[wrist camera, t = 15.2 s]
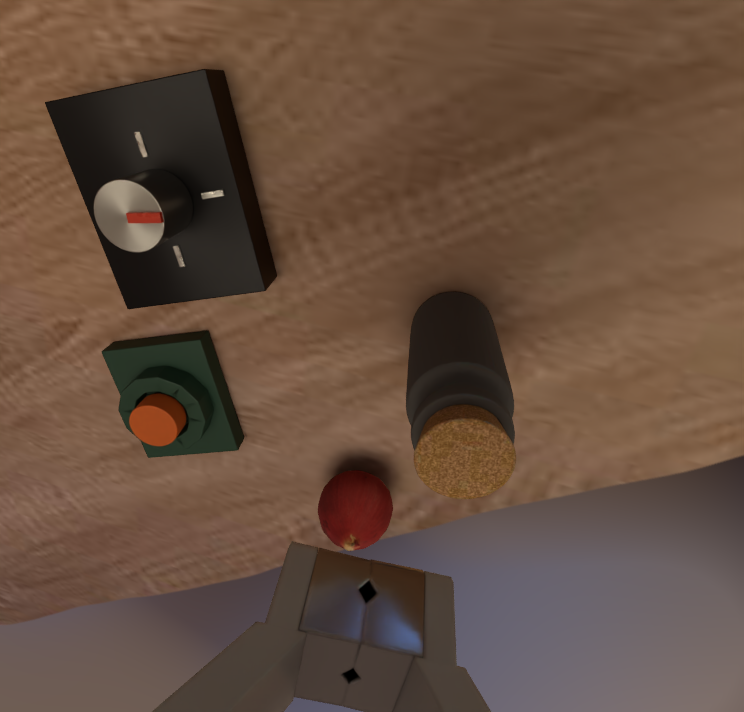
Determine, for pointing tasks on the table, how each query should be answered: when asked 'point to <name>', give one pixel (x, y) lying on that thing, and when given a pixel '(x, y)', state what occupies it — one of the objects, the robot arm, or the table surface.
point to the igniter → (177, 389)
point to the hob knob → (143, 209)
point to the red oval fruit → (355, 509)
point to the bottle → (459, 399)
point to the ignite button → (158, 419)
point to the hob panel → (190, 165)
